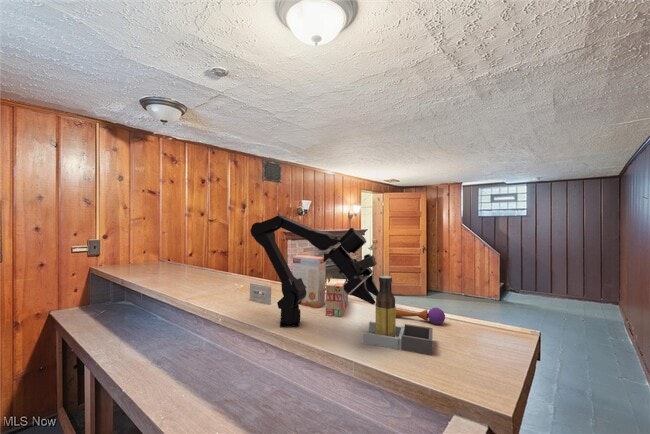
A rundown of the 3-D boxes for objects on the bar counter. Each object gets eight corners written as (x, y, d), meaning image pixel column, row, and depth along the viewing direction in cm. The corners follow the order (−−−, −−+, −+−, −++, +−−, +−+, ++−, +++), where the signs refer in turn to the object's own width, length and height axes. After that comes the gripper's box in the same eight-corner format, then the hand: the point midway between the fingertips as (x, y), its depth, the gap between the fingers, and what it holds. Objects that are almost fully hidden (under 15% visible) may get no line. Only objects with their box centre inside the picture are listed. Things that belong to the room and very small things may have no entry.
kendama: (391, 304, 120) (444, 307, 112) (391, 319, 119) (445, 324, 111) (388, 305, 115) (444, 308, 107) (388, 321, 113) (445, 326, 105)
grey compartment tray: (362, 343, 91) (362, 329, 91) (369, 330, 101) (370, 318, 101) (432, 355, 84) (432, 341, 84) (432, 340, 94) (432, 327, 94)
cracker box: (325, 305, 129) (326, 257, 129) (317, 308, 124) (319, 258, 124) (299, 299, 136) (300, 254, 136) (291, 302, 131) (292, 255, 131)
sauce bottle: (394, 336, 96) (395, 275, 96) (396, 344, 90) (398, 279, 90) (374, 335, 97) (375, 274, 97) (375, 343, 91) (377, 278, 91)
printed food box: (334, 301, 136) (335, 274, 136) (348, 302, 135) (348, 275, 135) (325, 316, 115) (326, 284, 115) (341, 317, 114) (342, 285, 114)
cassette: (271, 304, 128) (272, 286, 128) (268, 305, 127) (269, 287, 127) (251, 299, 134) (252, 282, 134) (248, 300, 133) (249, 283, 133)
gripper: (354, 249, 88) (391, 290, 84) (367, 244, 105) (398, 278, 102) (329, 273, 90) (363, 314, 87) (345, 265, 108) (375, 298, 104)
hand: (377, 299), depth 95 cm, fingers open, 9 cm apart
